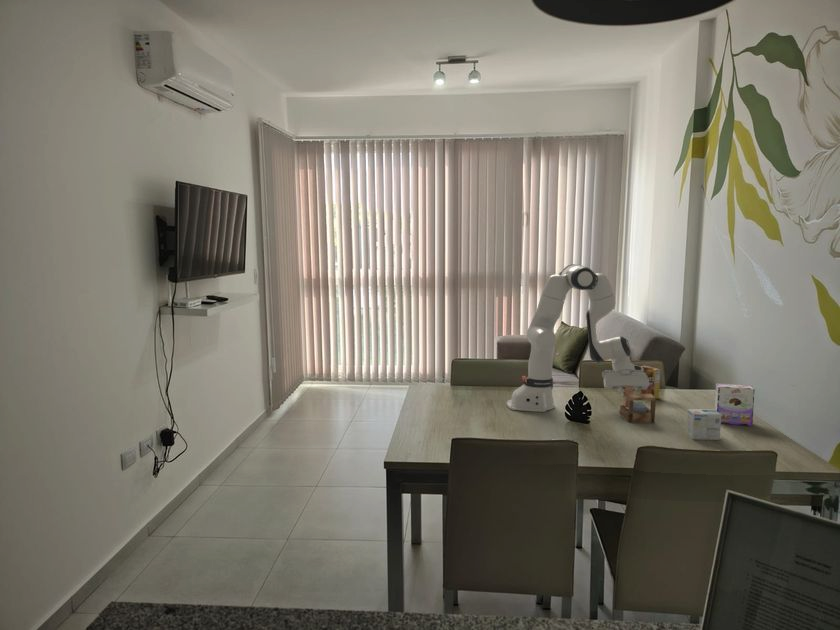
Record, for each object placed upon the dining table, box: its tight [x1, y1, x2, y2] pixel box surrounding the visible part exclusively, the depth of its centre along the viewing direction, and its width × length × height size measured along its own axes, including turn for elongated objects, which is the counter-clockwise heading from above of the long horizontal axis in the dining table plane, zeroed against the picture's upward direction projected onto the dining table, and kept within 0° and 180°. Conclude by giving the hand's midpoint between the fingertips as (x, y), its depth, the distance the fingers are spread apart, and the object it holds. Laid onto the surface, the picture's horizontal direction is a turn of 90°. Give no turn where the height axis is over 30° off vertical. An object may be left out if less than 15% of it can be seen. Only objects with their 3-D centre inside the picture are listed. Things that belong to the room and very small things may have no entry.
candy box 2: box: [714, 383, 756, 427], centre depth 232 cm, size 14×6×16 cm, turn 71°
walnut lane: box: [619, 393, 657, 424], centre depth 239 cm, size 11×12×11 cm
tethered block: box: [622, 387, 648, 413], centre depth 244 cm, size 6×17×9 cm, turn 177°
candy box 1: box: [639, 365, 661, 400], centre depth 272 cm, size 9×4×15 cm, turn 28°
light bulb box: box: [686, 408, 722, 441], centre depth 215 cm, size 11×7×11 cm, turn 84°
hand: (629, 396), depth 249 cm, fingers closed on tethered block, 3 cm apart
